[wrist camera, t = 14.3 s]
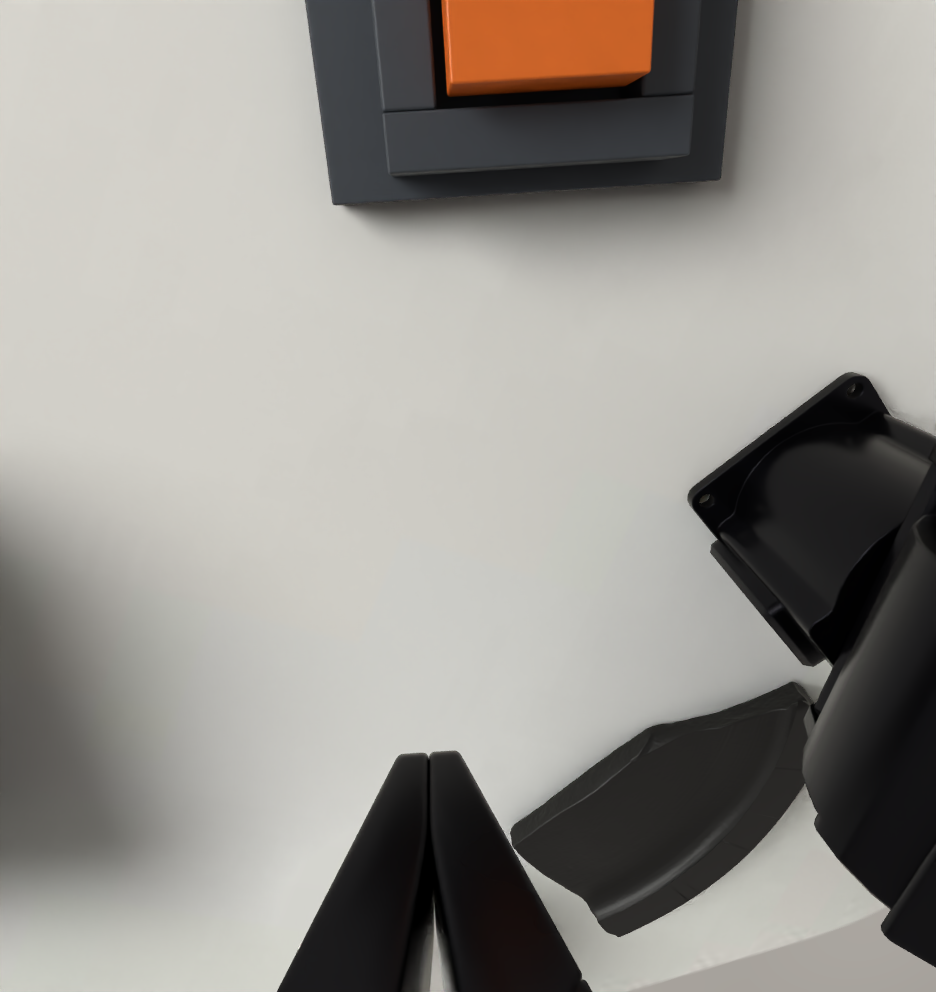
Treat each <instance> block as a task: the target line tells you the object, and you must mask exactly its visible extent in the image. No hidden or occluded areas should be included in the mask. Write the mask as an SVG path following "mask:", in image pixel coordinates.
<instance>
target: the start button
mask: <svg viewBox="0 0 936 992" xmlns="http://www.w3.org/2000/svg"><path fill="white" fill-rule="evenodd" d="M654 1H655V0H441V3H442V20H443V36H444V52H445V68H446V84H447V95H448V96H449V97H458V96H475V95H492V94H509V93H526V92H543V91H559V90H576V89H593V88H610V87H625V86H626V85H628V84H630V83H632V82H633V81H635V80H637V79H639V78H640V77H642V76H644V75H646V74H648V73H649V72H650V71H651V59H652V39H653V20H654Z"/></svg>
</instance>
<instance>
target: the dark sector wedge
mask: <svg viewBox="0 0 936 992" xmlns="http://www.w3.org/2000/svg"><path fill="white" fill-rule="evenodd" d="M811 704H814V702H813V701H812V700H811V698H810V697H809V695H808V694H807V692H806V691H805V690H804V688H803V687H801V686H800V685H798V684H797V683H795V682H790V683H789V684H787V685H785V686H782V687H780V688H779V689H776V690H773V691H772V692H769V693H767V694H764V695H762V696H760V697H757V698H755V699H752V700H750V701H747V702H745V703H742V704H740V705H737V706H734V707H731V708H729V709H727V710H724V711H721V712H718V713H714V714H710V715H706V716H702V717H697V718H693V719H689V720H686V721H681V722H675V723H672V724H661V725H656V726H653V727H650V728H648V729H646V730H645V731H643V732H642V733H640V734H638V735H637V736H636V737H634V738H633V739H631V740H630V741H629V742H627V743H626V744H624V745H623V746H621V747H619V748H618V749H617V750H615V751H614V752H613V753H611V754H610V755H609V756H607V757H606V758H604V759H603V760H601V761H600V762H599V763H597V764H596V765H595V766H593V767H592V768H591V769H589V770H588V771H587V772H585V773H584V774H583V775H581V776H580V777H579V778H577V779H576V780H575V781H573V782H572V783H571V784H569V785H568V786H567V787H565V788H564V789H563V790H561V791H560V792H559V793H558V794H556V795H555V796H554V797H552V798H551V799H550V800H548V801H547V802H546V803H545V804H543V805H542V806H541V807H539V808H538V809H536V810H535V811H534V812H532V813H531V814H530V815H528V816H527V817H525V818H524V819H523V820H521V821H519V822H518V823H516V824H515V825H514V826H513V827H512V829H511V832H510V834H511V840H512V846H513V848H514V849H515V850H517V852H518V853H519V854H520V855H521V856H522V857H523V858H524V859H525V860H526V861H527V862H528V863H530V864H531V865H532V866H534V867H535V868H536V869H537V870H539V871H540V872H541V873H542V874H544V875H545V876H547V877H548V878H550V879H552V880H553V881H555V882H557V883H558V884H560V885H562V886H563V887H565V888H566V889H568V890H570V891H571V892H573V893H575V894H577V895H579V896H580V897H581V898H583V899H584V901H585V902H586V903H587V904H588V906H589V908H590V910H591V912H592V913H593V914H594V915H595V917H596V918H597V921H598V923H599V924H600V925H601V927H602V928H603V929H604V930H605V931H606V932H607V933H610V934H614V935H616V936H617V937H621V936H623V935H626V934H628V933H630V932H632V931H634V930H636V929H638V928H640V927H642V926H644V925H646V924H649V923H650V922H652V921H654V920H656V919H658V918H660V917H662V916H664V915H666V914H667V913H669V912H671V911H673V910H674V909H676V908H678V907H679V906H681V905H683V904H684V903H686V902H688V901H689V900H691V899H692V898H694V897H695V896H697V895H698V894H700V893H701V892H702V891H704V890H705V889H707V888H708V887H709V886H711V885H712V884H713V883H715V882H716V881H717V880H719V879H720V878H721V877H723V876H724V875H725V874H726V873H727V872H729V871H730V870H731V869H732V868H733V867H735V866H736V865H737V864H738V863H739V862H740V861H741V860H742V859H743V858H745V857H746V856H747V855H748V854H749V853H750V852H751V851H752V850H753V849H754V848H755V847H756V845H757V844H758V843H759V842H760V841H761V840H762V839H763V838H764V837H765V836H766V835H767V833H768V832H769V831H770V830H771V829H772V828H773V826H774V825H775V824H776V823H777V821H778V820H779V819H780V818H781V816H782V815H783V814H784V813H785V811H786V810H787V809H788V807H789V806H790V805H791V803H792V802H793V800H794V799H795V798H796V796H797V795H798V793H799V792H800V790H801V789H802V787H803V786H804V784H805V782H804V779H803V776H802V760H803V748H804V746H805V744H806V742H807V740H808V736H807V732H806V728H805V725H804V717H805V715H806V713H807V711H808V709H809V707H810V705H811Z"/></svg>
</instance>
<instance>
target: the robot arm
mask: <svg viewBox="0 0 936 992" xmlns="http://www.w3.org/2000/svg"><path fill="white" fill-rule="evenodd" d="M853 384H855V390H854V391H853V392H852V393H851V394H850V395H847V391H848V388H849V387H850V386H851V385H853ZM706 494H710V495H709V499H708V500H707V501H706V502H703V503H699V501H700V498H701V497H702V496H704V495H706ZM688 503H689V505H690V506H691V508H692V509H693V510H694V511H695V512H696V514H697V515H698V516H699V517H700V519H701V520H702V521H703V522H704V524H705V525H706V526H707V527H708V528H709V530H710V531H711V532H712V533H713V535H714V536H715V537H716V538H717V539H718V540H717V541H715V542H714V543H712V544H711V550H710V553H711V554H712V555H713V557H714V558H715V559H716V560H717V562H718V563H719V564H720V565H721V566H722V568H723V569H724V570H725V571H726V572H727V574H728V575H729V576H730V577H731V579H732V580H733V581H734V582H735V583H736V585H737V586H738V587H739V588H740V590H741V591H742V592H743V593H744V594H745V596H746V597H747V598H748V599H749V600H750V602H751V603H752V604H753V605H754V607H755V608H756V609H757V610H758V611H759V613H760V614H761V615H762V616H763V618H764V619H765V620H766V621H767V622H768V624H769V625H770V626H771V627H772V628H773V630H774V631H775V632H776V633H777V634H778V636H779V637H780V638H781V639H782V640H783V642H784V643H785V644H786V645H787V646H788V648H789V649H790V650H791V651H792V652H793V654H794V655H795V656H796V657H797V658H798V660H799V661H800V662H801V663H802V664H803V665H806V666H812V667H814V666H816V665H817V664H819V663H820V662H822V661H823V660H826V661H827V662H828V663H829V664H830V665H831V666H832V667H833V668H832V671H831V673H830V675H829V677H828V679H827V681H826V683H825V685H824V687H823V689H822V691H821V693H820V696H819V698H818V700H817V702H816V703H814V704H811V705H810V707H809V709H808V711H807V713H806V715H805V717H804V725H805V728H806V732H807V736H808V740H807V742H806V744H805V746H804V748H803V760H802V776H803V779H804V782H805V784H806V787H807V789H808V792H809V795H810V797H811V800H812V802H813V805H814V808H815V809H816V811H817V813H818V814H817V816H816V818H815V822H814V825H815V828H816V830H817V832H818V833H819V834H820V836H821V837H822V838H823V840H824V841H825V842H826V844H827V845H828V846H829V848H830V849H831V850H832V852H833V853H834V854H835V856H836V857H837V858H838V860H839V861H840V862H841V863H842V865H843V866H844V867H845V868H846V869H847V870H848V871H849V872H850V873H851V874H852V875H853V876H854V877H855V878H856V879H857V880H858V881H859V882H860V883H861V884H862V885H863V886H864V887H865V888H866V889H867V890H868V891H869V892H870V893H871V894H872V895H873V896H874V897H875V898H877V899H878V900H879V901H880V902H882V903H883V904H884V905H885V906H887V907H888V908H889V909H890V912H889V913H888V915H887V916H886V918H885V919H884V921H883V923H882V925H881V930H882V932H883V933H884V935H885V936H886V937H887V938H888V939H889V940H890V941H891V942H893V943H895V944H896V945H898V946H900V947H901V948H903V949H905V950H907V951H908V952H910V953H912V954H913V955H915V956H917V957H919V958H920V959H922V960H924V961H926V962H927V963H929V964H931V965H932V966H934V967H936V436H933V435H931V434H929V433H927V432H925V431H922V430H920V429H918V428H916V427H914V426H911V425H909V424H907V423H905V422H903V421H901V420H898V419H896V418H894V417H892V416H891V415H890V414H889V412H888V410H887V409H886V407H885V405H884V404H883V402H882V400H881V399H880V397H879V395H878V394H877V392H876V390H875V389H874V387H873V385H872V384H871V382H870V380H869V379H868V378H866V377H865V376H862V375H860V374H857V373H853V372H850V373H845V374H844V375H842V376H840V377H839V378H837V379H836V380H835V381H833V382H832V383H831V384H829V385H828V386H827V387H825V388H824V389H823V390H821V391H820V392H819V393H817V394H816V395H815V396H813V397H812V398H811V399H809V400H808V401H807V402H805V403H804V404H803V405H801V406H800V407H799V408H797V409H796V410H795V411H793V412H792V413H791V414H789V415H788V416H787V417H785V418H784V419H783V420H781V421H780V422H779V423H777V424H776V425H775V426H773V427H772V428H771V429H769V430H768V431H767V432H765V433H764V434H763V435H761V436H760V437H759V438H757V439H756V440H755V441H753V442H752V443H751V444H749V445H748V446H747V447H745V448H744V449H743V450H741V451H740V452H739V453H738V454H736V455H735V456H734V457H732V458H731V459H730V460H728V461H727V462H726V463H724V464H723V465H722V466H720V467H719V468H718V469H716V470H715V471H714V472H712V473H711V474H710V475H708V476H707V477H706V478H704V479H703V480H702V481H700V482H699V483H698V484H696V485H695V486H694V487H693V488H692V489H691V490H690V491H689V494H688ZM434 908H435V923H436V935H437V944H438V952H439V960H440V967H441V974H442V981H443V989H444V992H592V991H591V989H590V987H589V985H588V983H587V982H586V981H585V980H582V973H581V971H580V970H579V968H578V966H577V964H576V962H575V960H574V959H573V957H572V955H571V953H570V951H569V950H568V948H567V946H566V944H565V942H564V941H563V939H562V937H561V935H560V933H559V931H558V930H557V928H556V926H555V924H554V922H553V921H552V919H551V917H550V915H549V913H548V912H547V910H546V908H545V906H544V904H543V903H542V901H541V899H540V897H539V895H538V893H537V892H536V890H535V888H534V886H533V884H532V883H531V881H530V879H529V877H528V875H527V874H526V872H525V870H524V868H523V866H522V865H521V863H520V861H519V859H518V857H517V855H516V854H515V852H514V850H513V848H512V846H511V845H510V843H509V841H508V839H507V837H506V836H505V834H504V832H503V830H502V828H501V827H500V825H499V823H498V821H497V819H496V817H495V816H494V814H493V812H492V810H491V808H490V807H489V805H488V803H487V801H486V799H485V798H484V796H483V794H482V792H481V790H480V789H479V787H478V785H477V783H476V781H475V779H474V778H473V776H472V774H471V772H470V770H469V769H468V767H467V765H466V763H465V761H464V760H463V758H462V756H461V755H460V753H459V752H457V751H441V752H432V753H431V754H430V756H429V758H428V755H427V754H426V753H410V754H401V755H399V756H398V757H397V759H396V760H395V762H394V764H393V766H392V768H391V770H390V772H389V774H388V776H387V778H386V780H385V782H384V784H383V785H382V787H381V789H380V791H379V793H378V795H377V797H376V799H375V801H374V803H373V805H372V807H371V809H370V811H369V813H368V815H367V817H366V819H365V821H364V823H363V825H362V826H361V828H360V830H359V832H358V834H357V836H356V838H355V840H354V842H353V844H352V846H351V848H350V850H349V852H348V854H347V856H346V858H345V860H344V862H343V864H342V865H341V867H340V869H339V871H338V873H337V875H336V877H335V879H334V881H333V883H332V885H331V887H330V889H329V891H328V893H327V895H326V897H325V899H324V901H323V903H322V905H321V906H320V908H319V910H318V912H317V914H316V916H315V918H314V920H313V922H312V924H311V926H310V928H309V930H308V932H307V934H306V936H305V938H304V940H303V942H302V944H301V945H300V947H299V949H298V951H297V953H296V955H295V957H294V959H293V961H292V963H291V965H290V967H289V969H288V971H287V973H286V975H285V977H284V979H283V981H282V983H281V985H280V986H279V988H278V990H277V992H430V983H431V971H432V958H433V944H434Z"/></svg>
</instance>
